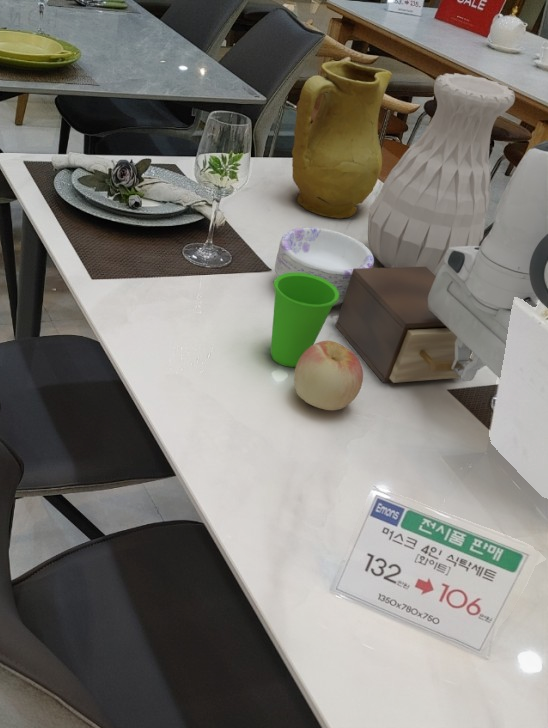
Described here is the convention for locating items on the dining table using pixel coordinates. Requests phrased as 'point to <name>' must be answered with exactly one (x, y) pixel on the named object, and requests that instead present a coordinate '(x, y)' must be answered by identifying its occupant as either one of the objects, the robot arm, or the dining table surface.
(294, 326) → the cup
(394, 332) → the cabinet
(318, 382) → the apple
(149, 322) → the dining table surface
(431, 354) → the drawer
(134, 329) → the dining table surface
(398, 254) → the vase
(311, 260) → the paper bowls
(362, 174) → the pitcher
